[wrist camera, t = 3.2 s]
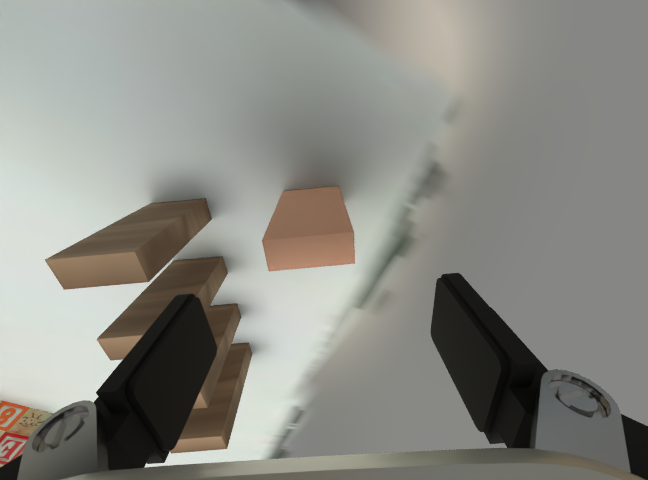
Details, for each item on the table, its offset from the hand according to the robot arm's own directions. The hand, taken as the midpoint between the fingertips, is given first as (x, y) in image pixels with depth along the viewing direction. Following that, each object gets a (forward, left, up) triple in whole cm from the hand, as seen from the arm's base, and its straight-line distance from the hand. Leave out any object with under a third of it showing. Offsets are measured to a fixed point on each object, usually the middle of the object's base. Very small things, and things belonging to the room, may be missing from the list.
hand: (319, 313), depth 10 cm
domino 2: (+6, -12, -15) cm, 20 cm away
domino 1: (0, -12, -15) cm, 19 cm away
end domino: (0, 0, -15) cm, 15 cm away
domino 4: (+18, -12, -15) cm, 26 cm away
